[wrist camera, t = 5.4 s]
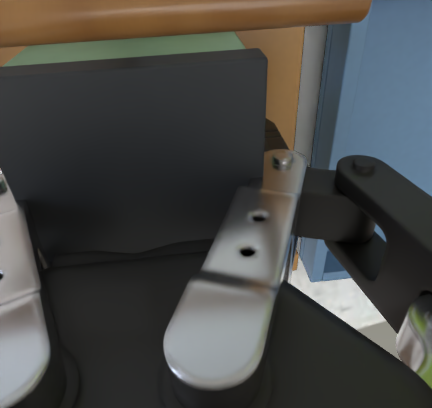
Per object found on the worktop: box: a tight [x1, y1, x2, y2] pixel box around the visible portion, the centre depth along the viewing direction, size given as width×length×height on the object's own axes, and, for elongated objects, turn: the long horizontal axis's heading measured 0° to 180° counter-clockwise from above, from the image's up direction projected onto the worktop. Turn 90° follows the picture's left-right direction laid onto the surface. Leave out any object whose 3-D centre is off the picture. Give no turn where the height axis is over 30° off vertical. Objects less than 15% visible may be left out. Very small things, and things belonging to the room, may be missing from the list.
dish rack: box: [0, 0, 372, 271], centre depth 11 cm, size 11×13×9 cm
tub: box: [0, 32, 268, 262], centre depth 12 cm, size 6×8×6 cm
